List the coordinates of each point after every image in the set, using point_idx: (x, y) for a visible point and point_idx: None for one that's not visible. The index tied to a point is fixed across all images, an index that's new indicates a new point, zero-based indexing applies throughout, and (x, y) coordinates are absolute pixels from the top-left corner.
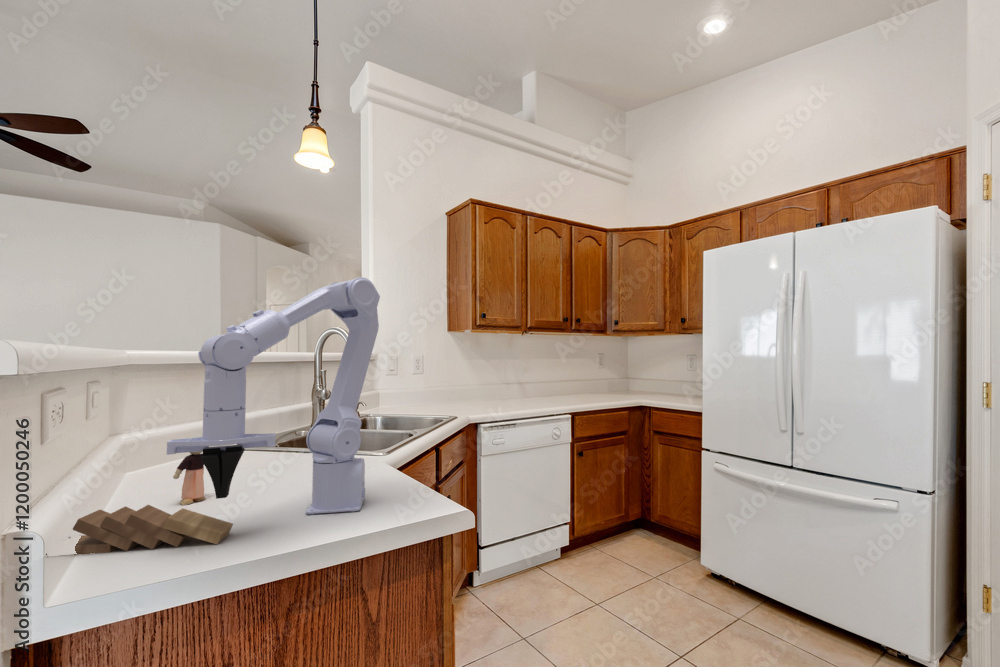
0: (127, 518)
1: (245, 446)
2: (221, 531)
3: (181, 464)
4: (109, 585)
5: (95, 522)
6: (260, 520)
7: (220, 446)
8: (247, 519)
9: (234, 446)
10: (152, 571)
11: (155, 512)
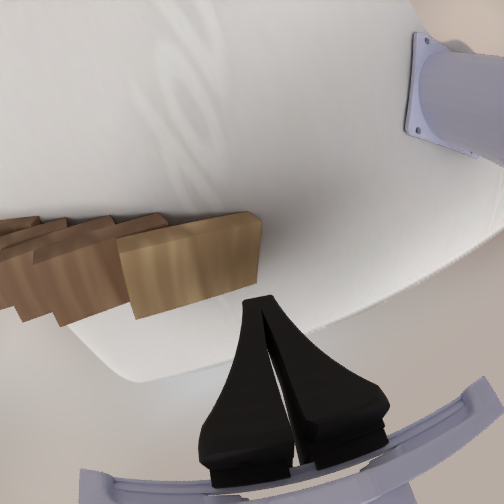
0: (40, 293)
1: (388, 445)
2: (252, 275)
3: None
4: (156, 364)
5: (4, 297)
6: (305, 127)
7: (289, 483)
8: (265, 105)
9: (348, 465)
10: (185, 344)
11: (69, 273)
